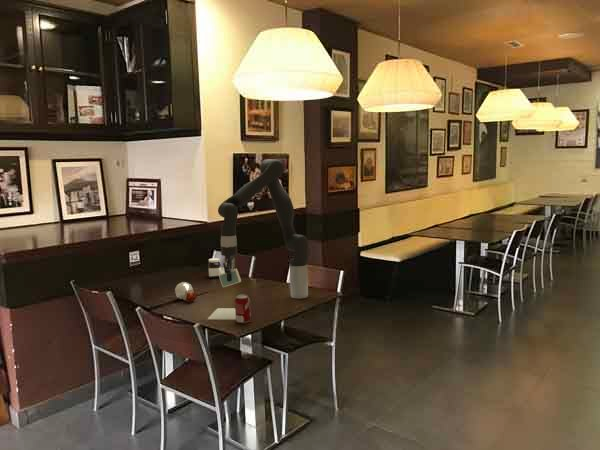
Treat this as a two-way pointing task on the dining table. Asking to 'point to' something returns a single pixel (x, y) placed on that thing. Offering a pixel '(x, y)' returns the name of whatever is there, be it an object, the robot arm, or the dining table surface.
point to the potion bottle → (185, 292)
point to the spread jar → (215, 268)
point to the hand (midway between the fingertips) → (230, 280)
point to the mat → (223, 314)
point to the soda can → (242, 309)
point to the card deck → (234, 278)
